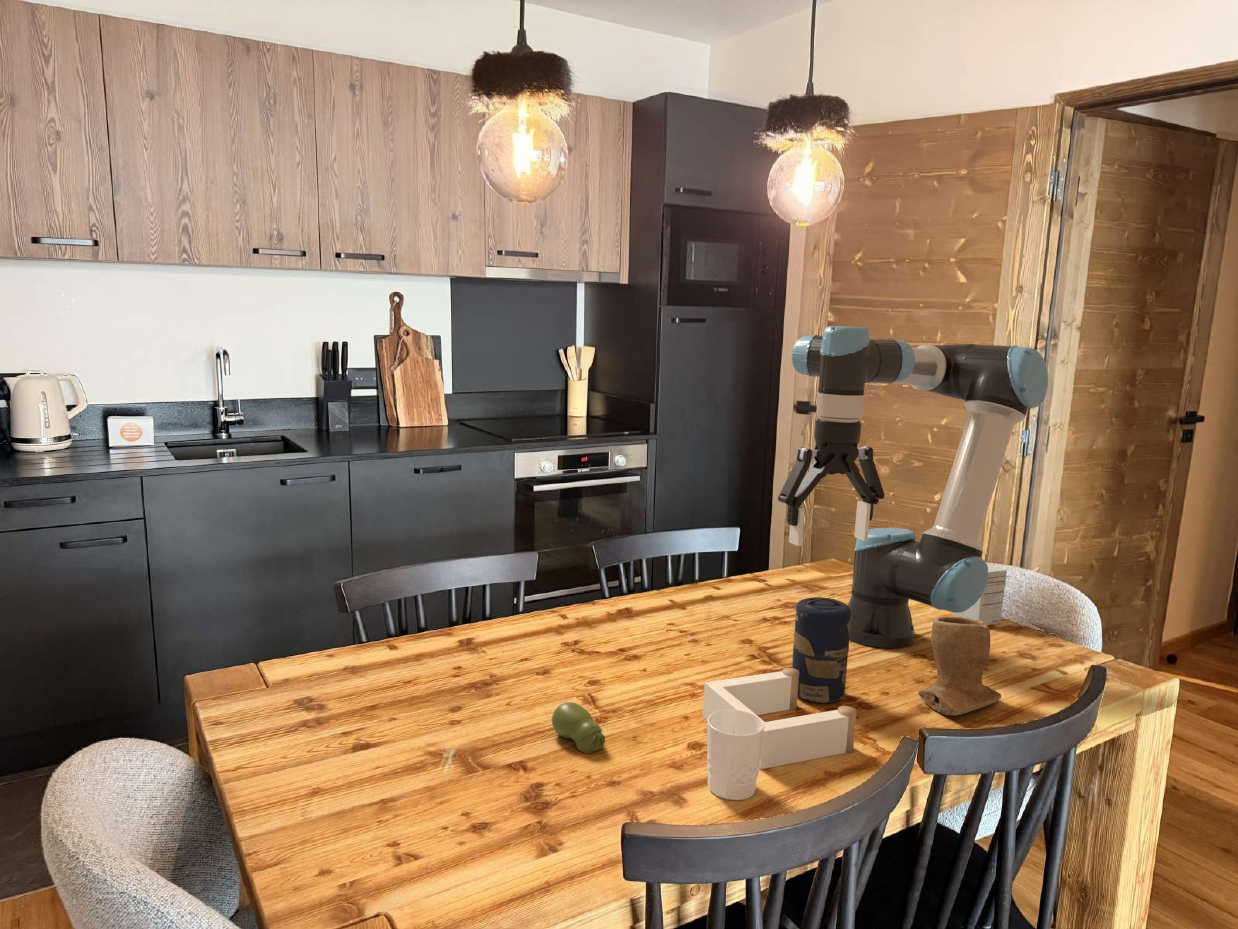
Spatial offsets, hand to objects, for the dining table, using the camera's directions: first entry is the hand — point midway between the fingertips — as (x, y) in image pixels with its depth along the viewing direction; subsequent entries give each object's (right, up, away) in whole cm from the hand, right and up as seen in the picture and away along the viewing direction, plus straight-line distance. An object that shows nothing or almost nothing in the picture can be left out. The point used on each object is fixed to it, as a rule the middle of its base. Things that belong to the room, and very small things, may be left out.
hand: (828, 541), depth 149 cm
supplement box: (+45, -22, +48) cm, 69 cm away
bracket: (-10, -30, -10) cm, 33 cm away
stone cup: (+23, -29, +4) cm, 37 cm away
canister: (-1, -28, +5) cm, 28 cm away
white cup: (-20, -33, -27) cm, 47 cm away
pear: (-42, -30, -15) cm, 54 cm away
